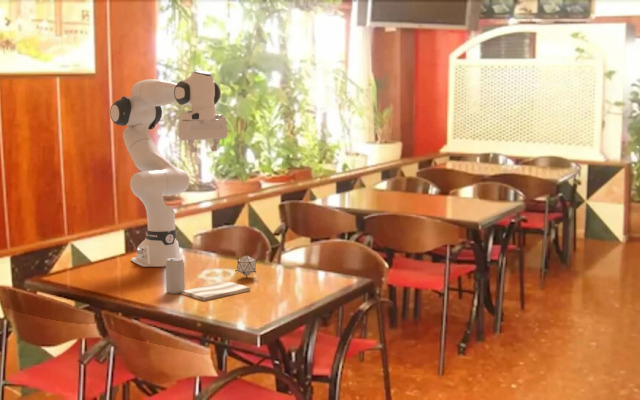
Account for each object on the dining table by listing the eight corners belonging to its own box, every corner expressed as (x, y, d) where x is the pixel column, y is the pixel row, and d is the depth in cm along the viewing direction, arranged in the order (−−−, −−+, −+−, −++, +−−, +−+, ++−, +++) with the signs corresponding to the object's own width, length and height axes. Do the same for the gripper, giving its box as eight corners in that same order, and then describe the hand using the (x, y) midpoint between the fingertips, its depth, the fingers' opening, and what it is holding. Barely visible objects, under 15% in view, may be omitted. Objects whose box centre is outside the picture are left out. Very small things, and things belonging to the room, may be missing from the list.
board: (182, 293, 268) (182, 290, 268) (227, 284, 282) (227, 281, 282) (204, 301, 259) (204, 297, 258) (250, 290, 273) (250, 287, 272)
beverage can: (162, 292, 270) (161, 259, 269) (177, 288, 275) (176, 256, 273) (173, 295, 266) (172, 261, 264) (188, 292, 271) (187, 258, 269)
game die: (254, 281, 286) (253, 255, 285) (232, 280, 288) (232, 254, 286) (260, 276, 295) (260, 250, 293) (239, 275, 296) (239, 249, 295)
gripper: (220, 114, 295) (221, 149, 297) (175, 115, 281) (176, 152, 283) (230, 114, 291) (231, 150, 293) (185, 115, 277) (186, 153, 279)
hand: (204, 151), depth 288 cm, fingers open, 8 cm apart
